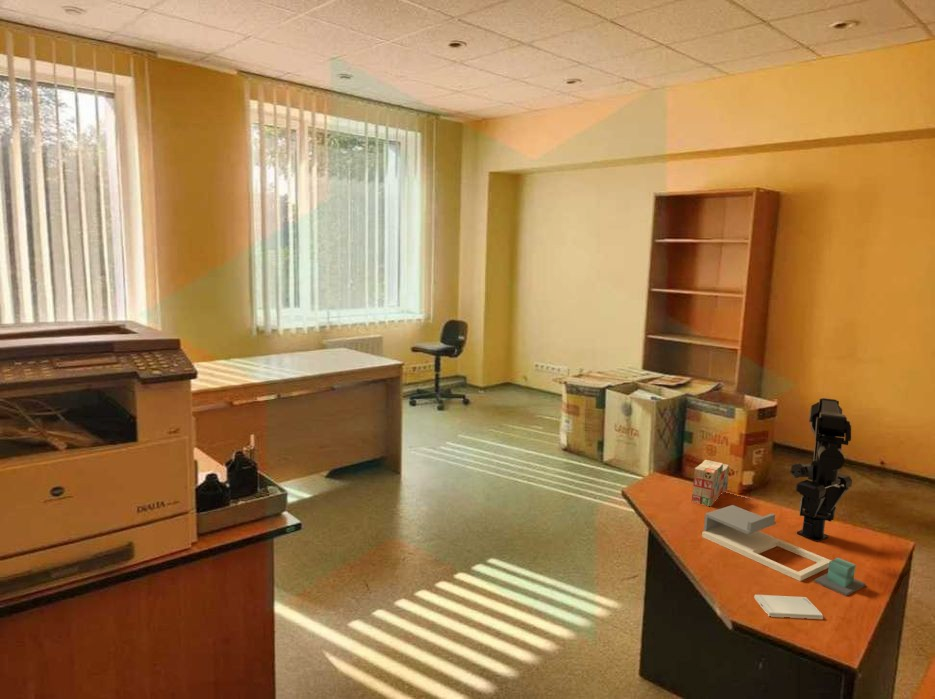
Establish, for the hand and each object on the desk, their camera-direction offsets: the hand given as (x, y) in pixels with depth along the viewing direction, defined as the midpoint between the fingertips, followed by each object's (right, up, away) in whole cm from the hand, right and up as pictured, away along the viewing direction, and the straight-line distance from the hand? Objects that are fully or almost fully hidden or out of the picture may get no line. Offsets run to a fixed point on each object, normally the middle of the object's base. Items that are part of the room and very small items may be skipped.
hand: (820, 513), depth 175 cm
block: (-2, -14, -12) cm, 19 cm away
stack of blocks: (-13, -6, +46) cm, 48 cm away
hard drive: (-22, -17, -24) cm, 37 cm away
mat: (-2, -15, -12) cm, 19 cm away
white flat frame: (-13, -12, +5) cm, 19 cm away
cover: (-18, -9, +11) cm, 23 cm away
